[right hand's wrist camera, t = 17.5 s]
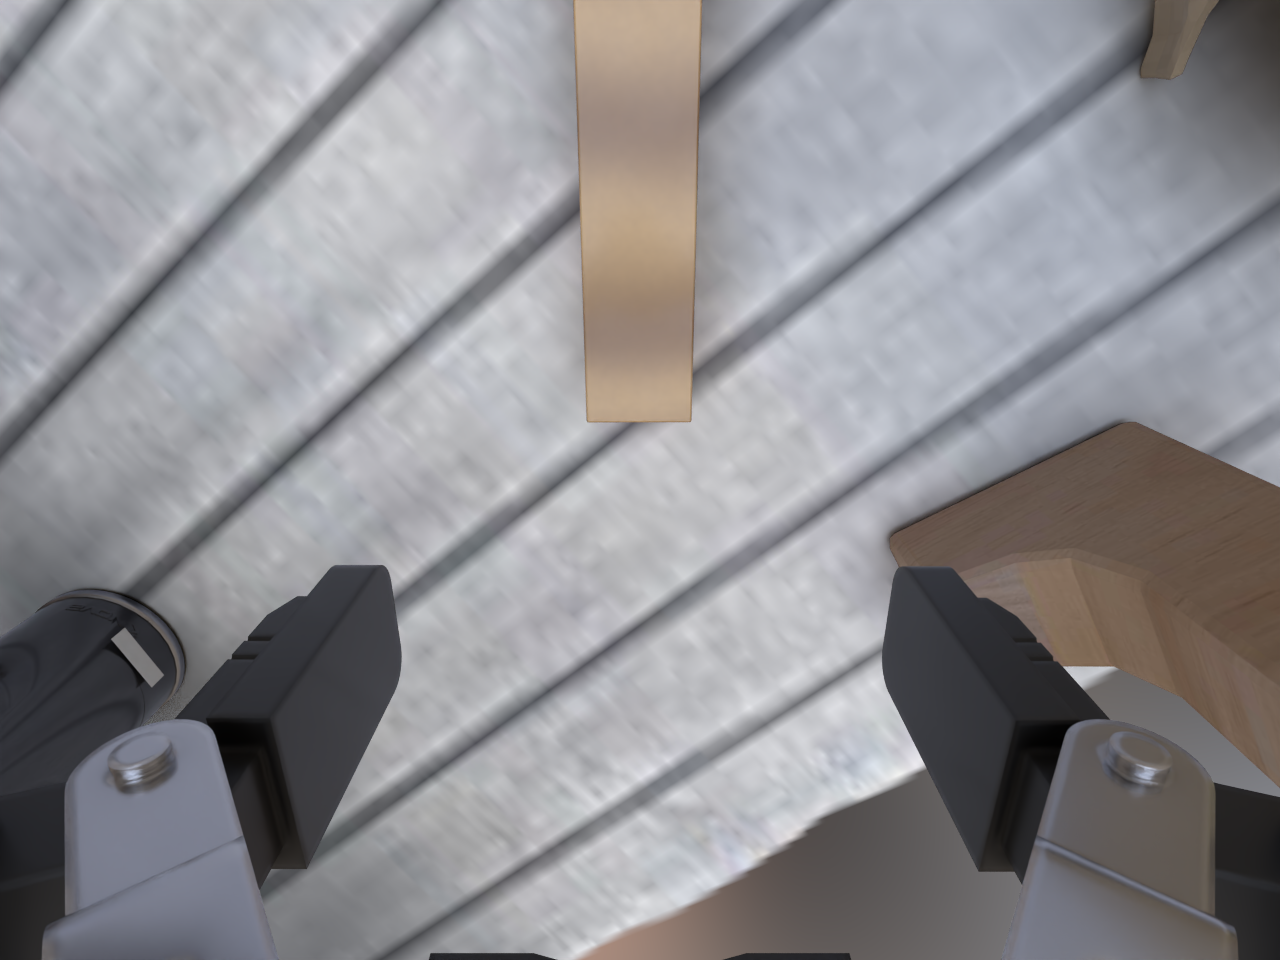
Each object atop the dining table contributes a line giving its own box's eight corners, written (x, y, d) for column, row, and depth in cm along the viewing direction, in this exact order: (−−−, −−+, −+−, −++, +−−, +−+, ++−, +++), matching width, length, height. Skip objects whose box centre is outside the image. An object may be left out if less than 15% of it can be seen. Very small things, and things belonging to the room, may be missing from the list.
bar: (681, 380, 39) (691, 422, 32) (596, 380, 39) (586, 422, 32) (692, -169, 30) (709, -285, 23) (582, -168, 30) (564, -284, 23)
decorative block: (881, 534, 42) (1344, 1179, 15) (1130, 413, 40) (2288, 925, 12) (928, 626, 45) (1399, 1329, 17) (1165, 518, 42) (2195, 1150, 14)
